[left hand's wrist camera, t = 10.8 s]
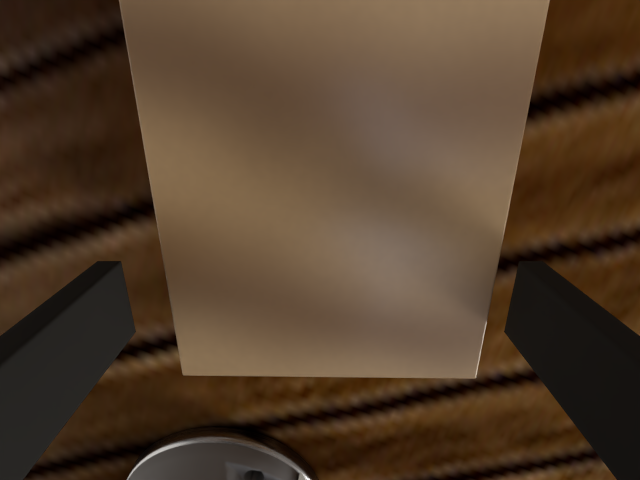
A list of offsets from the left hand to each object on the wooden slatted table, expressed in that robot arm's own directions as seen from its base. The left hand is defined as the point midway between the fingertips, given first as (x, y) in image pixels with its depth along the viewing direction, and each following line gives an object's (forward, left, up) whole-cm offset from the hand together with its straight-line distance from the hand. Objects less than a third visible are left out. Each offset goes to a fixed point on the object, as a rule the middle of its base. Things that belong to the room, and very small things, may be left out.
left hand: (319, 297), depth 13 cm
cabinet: (+2, +6, -9) cm, 11 cm away
